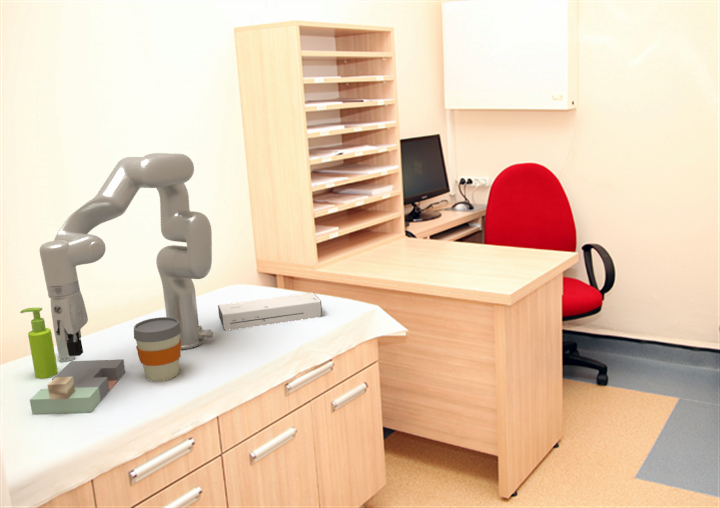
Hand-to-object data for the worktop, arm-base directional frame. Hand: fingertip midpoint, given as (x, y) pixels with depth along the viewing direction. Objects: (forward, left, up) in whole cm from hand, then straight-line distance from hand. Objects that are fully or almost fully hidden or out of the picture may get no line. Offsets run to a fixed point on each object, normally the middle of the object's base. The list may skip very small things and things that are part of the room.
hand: (76, 354), depth 173 cm
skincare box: (+15, -25, -11) cm, 32 cm away
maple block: (0, +9, -7) cm, 12 cm away
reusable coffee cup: (-19, -10, -11) cm, 24 cm away
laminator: (-43, -55, -12) cm, 71 cm away
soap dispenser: (+16, -13, -11) cm, 24 cm away
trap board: (0, -1, -11) cm, 11 cm away
